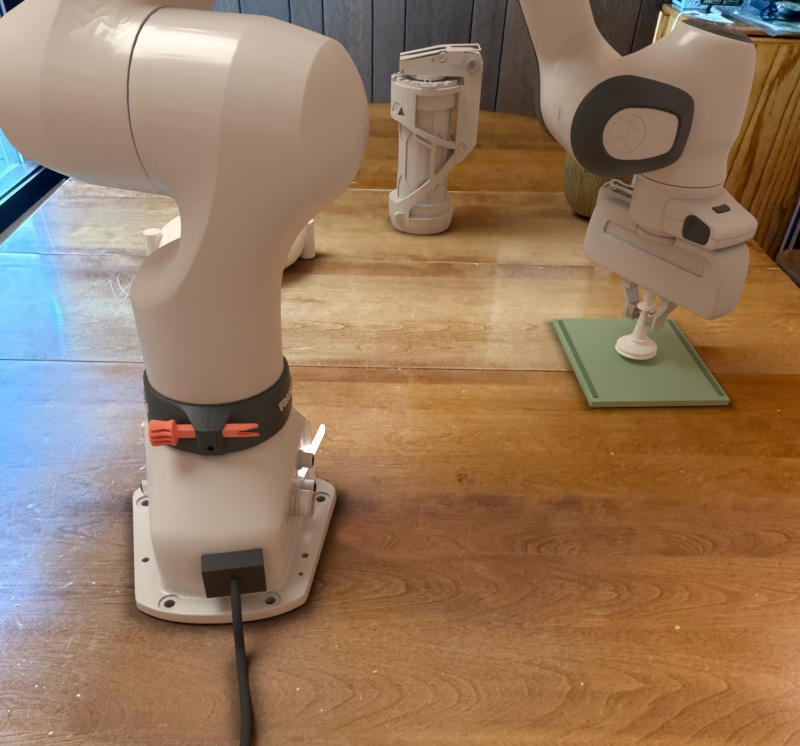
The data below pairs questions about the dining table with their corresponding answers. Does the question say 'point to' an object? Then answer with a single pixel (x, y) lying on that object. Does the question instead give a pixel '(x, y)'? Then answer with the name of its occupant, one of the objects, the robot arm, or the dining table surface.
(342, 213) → the dining table surface
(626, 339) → the chess piece
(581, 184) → the fruit
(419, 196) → the lantern
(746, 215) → the robot arm
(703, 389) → the green rectangular board
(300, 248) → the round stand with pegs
